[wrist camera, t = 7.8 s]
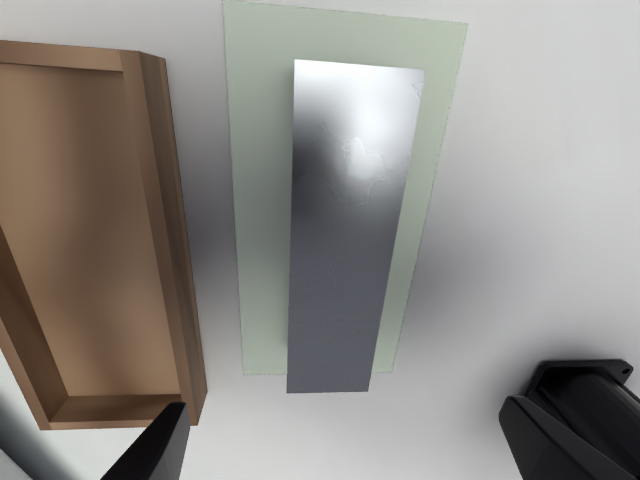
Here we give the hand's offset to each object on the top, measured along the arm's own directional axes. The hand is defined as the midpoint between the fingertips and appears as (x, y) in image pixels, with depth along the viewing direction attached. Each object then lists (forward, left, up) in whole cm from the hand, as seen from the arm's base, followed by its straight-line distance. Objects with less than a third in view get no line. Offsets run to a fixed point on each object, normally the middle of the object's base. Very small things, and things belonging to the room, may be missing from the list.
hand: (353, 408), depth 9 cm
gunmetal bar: (0, -2, -8) cm, 8 cm away
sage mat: (0, -2, -8) cm, 8 cm away
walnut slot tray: (+11, 0, -8) cm, 14 cm away
